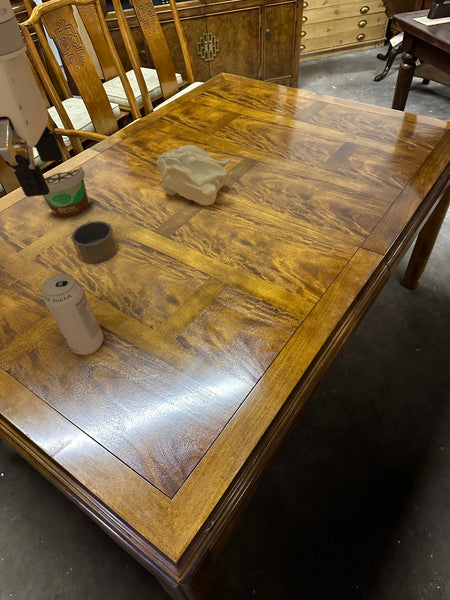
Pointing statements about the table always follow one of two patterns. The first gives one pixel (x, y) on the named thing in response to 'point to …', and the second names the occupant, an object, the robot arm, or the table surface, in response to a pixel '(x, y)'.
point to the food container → (67, 193)
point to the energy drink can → (72, 313)
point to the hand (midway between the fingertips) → (45, 176)
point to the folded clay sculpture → (192, 174)
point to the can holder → (95, 242)
